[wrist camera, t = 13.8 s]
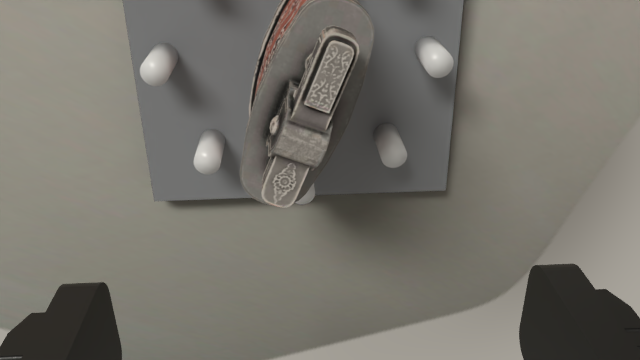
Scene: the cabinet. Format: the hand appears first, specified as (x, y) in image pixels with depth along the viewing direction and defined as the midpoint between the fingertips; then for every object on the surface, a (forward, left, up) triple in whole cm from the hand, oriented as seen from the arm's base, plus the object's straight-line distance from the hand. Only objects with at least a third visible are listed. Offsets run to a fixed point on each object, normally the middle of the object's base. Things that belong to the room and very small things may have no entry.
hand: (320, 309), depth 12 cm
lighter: (0, 0, -18) cm, 18 cm away
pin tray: (0, 0, -19) cm, 19 cm away
